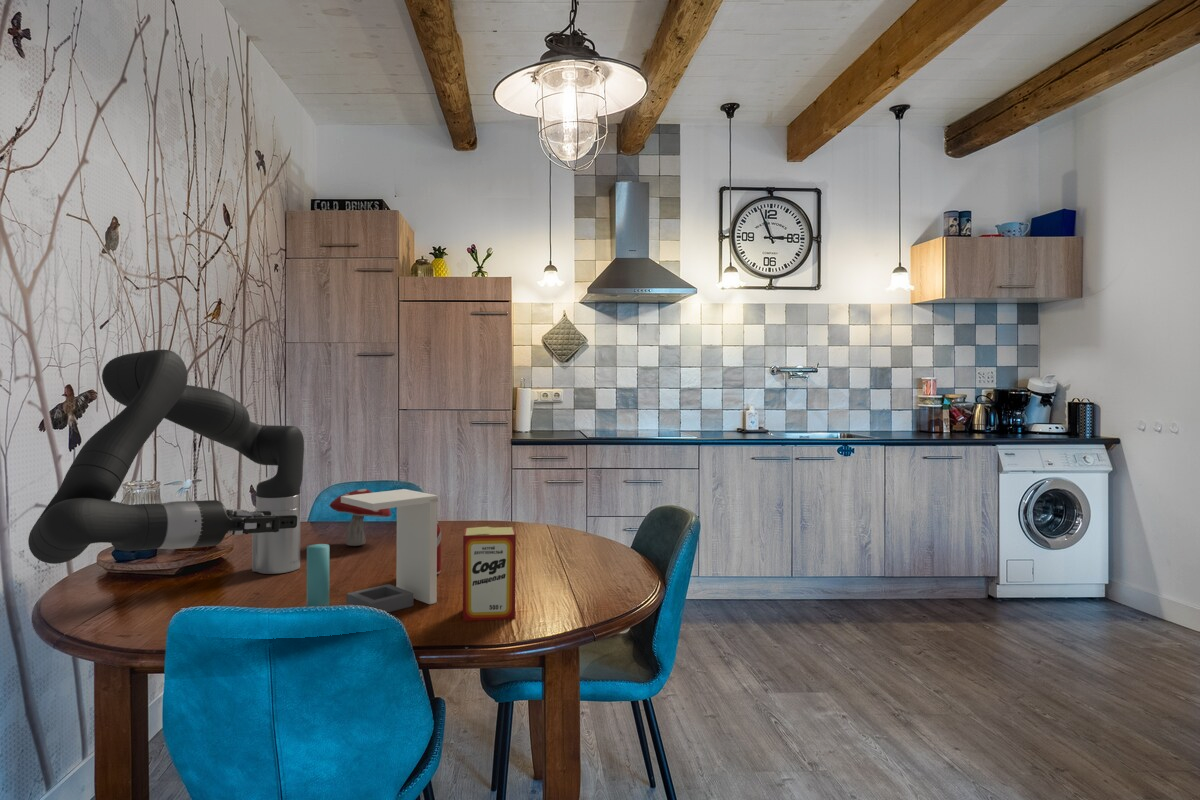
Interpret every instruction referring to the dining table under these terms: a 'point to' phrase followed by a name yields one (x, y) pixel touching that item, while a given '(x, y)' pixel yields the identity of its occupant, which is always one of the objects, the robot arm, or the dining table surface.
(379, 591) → the awning socket
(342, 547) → the dining table surface
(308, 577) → the peg
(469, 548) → the baking soda box
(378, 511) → the decorative mushroom
